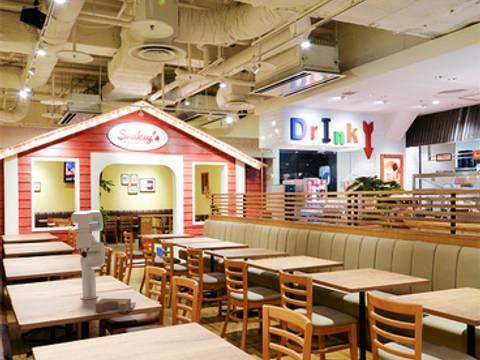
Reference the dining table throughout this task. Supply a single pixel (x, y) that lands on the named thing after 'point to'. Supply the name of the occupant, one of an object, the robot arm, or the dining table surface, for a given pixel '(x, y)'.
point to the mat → (129, 308)
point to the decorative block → (113, 305)
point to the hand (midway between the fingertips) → (84, 257)
